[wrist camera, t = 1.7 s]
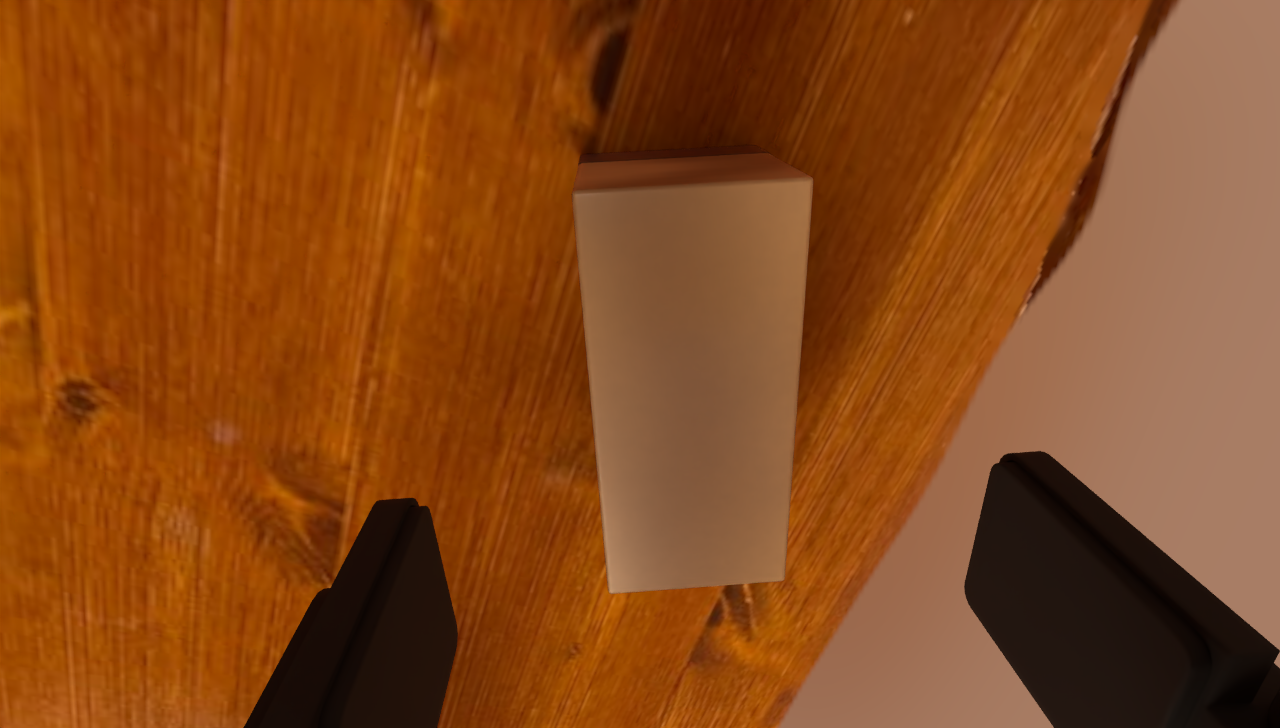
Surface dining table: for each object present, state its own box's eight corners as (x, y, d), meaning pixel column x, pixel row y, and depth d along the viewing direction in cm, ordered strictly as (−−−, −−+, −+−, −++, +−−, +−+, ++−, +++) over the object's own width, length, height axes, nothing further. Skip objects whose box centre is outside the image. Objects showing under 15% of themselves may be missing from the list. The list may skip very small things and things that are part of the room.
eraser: (756, 144, 16) (815, 176, 12) (745, 467, 20) (785, 582, 16) (580, 154, 16) (571, 190, 11) (607, 477, 20) (608, 595, 16)
